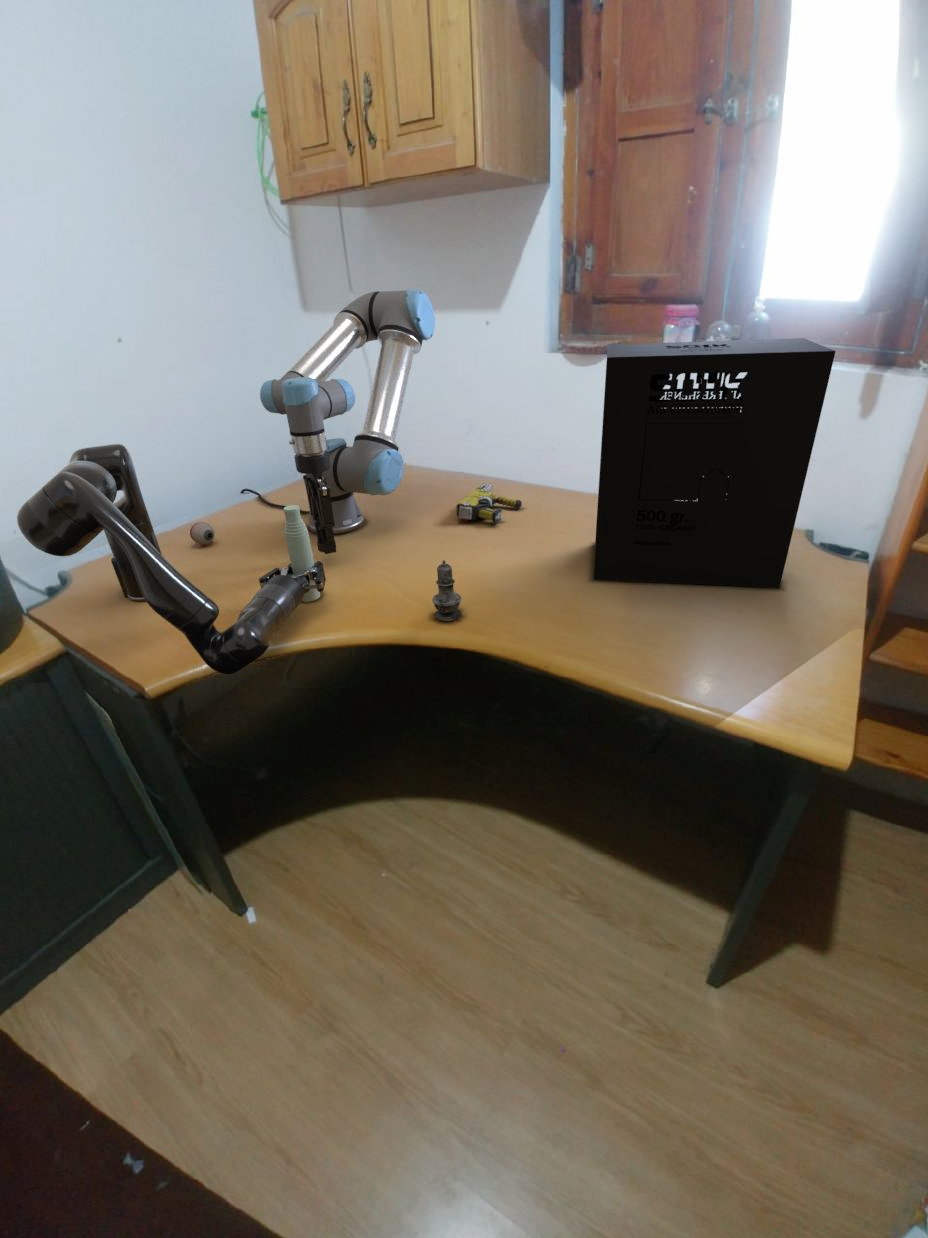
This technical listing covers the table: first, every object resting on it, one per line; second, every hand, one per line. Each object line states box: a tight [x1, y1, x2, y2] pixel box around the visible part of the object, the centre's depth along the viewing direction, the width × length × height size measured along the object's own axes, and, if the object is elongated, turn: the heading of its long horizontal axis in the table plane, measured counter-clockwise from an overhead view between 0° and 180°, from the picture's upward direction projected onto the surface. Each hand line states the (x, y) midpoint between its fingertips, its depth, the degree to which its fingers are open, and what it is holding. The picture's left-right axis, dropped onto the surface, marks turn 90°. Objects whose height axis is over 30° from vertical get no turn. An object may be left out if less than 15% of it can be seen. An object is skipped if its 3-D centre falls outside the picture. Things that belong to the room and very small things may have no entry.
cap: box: [316, 538, 337, 553], centre depth 145 cm, size 4×4×2 cm
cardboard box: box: [592, 337, 836, 589], centre depth 125 cm, size 38×20×45 cm, turn 78°
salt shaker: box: [431, 560, 462, 622], centre depth 119 cm, size 6×6×12 cm
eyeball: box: [189, 521, 215, 546], centre depth 160 cm, size 6×6×6 cm
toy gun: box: [455, 482, 523, 525], centre depth 172 cm, size 5×24×15 cm
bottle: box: [282, 504, 321, 603], centre depth 127 cm, size 5×5×20 cm
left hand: (308, 564), depth 131 cm, fingers closed on bottle, 4 cm apart
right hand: (327, 549), depth 146 cm, fingers closed on cap, 4 cm apart
